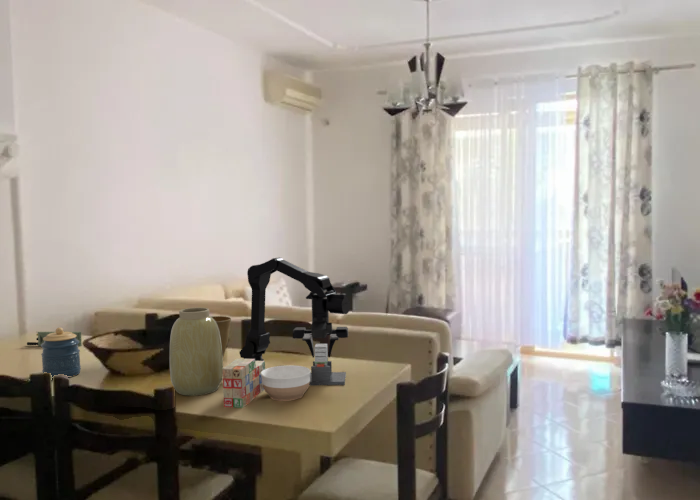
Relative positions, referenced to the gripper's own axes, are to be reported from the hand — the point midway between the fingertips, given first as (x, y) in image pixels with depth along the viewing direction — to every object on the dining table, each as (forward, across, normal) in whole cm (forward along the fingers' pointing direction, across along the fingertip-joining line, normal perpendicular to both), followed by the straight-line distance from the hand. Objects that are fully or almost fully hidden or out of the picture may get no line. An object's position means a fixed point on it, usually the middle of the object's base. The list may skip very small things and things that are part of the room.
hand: (321, 357), depth 222 cm
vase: (+9, -41, -8) cm, 43 cm away
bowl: (+9, -10, -15) cm, 21 cm away
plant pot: (+9, -46, +35) cm, 58 cm away
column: (+4, 0, 0) cm, 4 cm away
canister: (+9, -97, +13) cm, 98 cm away
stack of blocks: (+9, -23, -16) cm, 30 cm away
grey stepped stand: (+8, 0, +2) cm, 9 cm away
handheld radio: (+9, -124, +62) cm, 139 cm away
